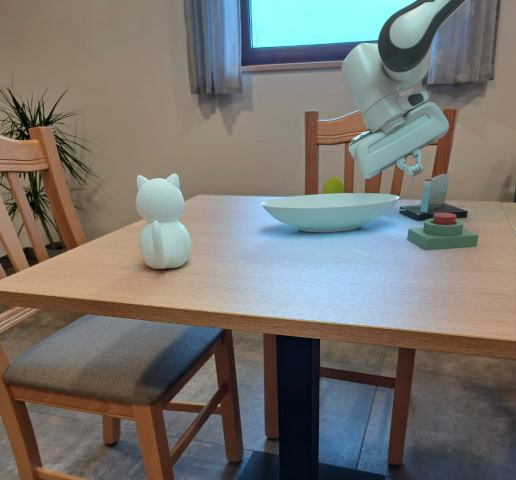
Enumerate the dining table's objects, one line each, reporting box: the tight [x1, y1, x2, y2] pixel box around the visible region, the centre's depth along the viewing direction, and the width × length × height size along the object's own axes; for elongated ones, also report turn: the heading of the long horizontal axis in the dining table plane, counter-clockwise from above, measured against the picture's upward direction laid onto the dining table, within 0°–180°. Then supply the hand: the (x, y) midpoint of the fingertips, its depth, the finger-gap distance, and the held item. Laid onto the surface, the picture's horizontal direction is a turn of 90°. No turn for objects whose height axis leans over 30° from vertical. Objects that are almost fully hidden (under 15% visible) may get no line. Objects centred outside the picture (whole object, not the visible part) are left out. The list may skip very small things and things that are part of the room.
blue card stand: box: [420, 173, 450, 213], centre depth 108 cm, size 12×2×7 cm, turn 142°
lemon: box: [321, 175, 345, 194], centre depth 119 cm, size 6×6×8 cm
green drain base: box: [406, 218, 479, 251], centre depth 88 cm, size 10×8×4 cm
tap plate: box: [399, 201, 469, 222], centre depth 110 cm, size 16×16×2 cm
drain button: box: [433, 213, 457, 225], centre depth 87 cm, size 4×4×2 cm
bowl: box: [261, 192, 400, 233], centre depth 100 cm, size 30×15×6 cm, turn 97°
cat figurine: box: [135, 173, 192, 270], centre depth 78 cm, size 9×12×15 cm
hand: (417, 174), depth 101 cm, fingers closed
